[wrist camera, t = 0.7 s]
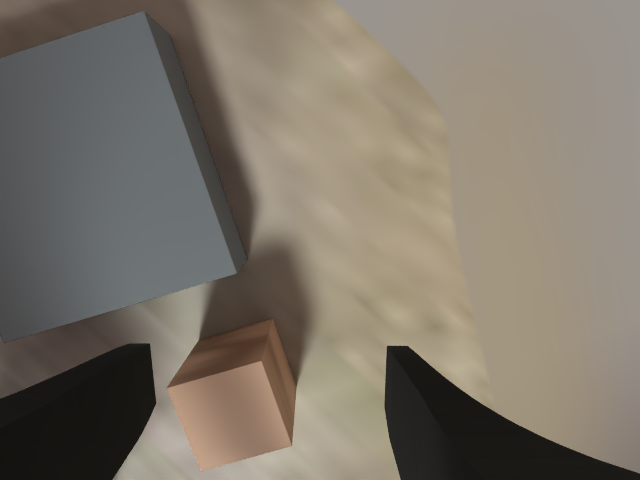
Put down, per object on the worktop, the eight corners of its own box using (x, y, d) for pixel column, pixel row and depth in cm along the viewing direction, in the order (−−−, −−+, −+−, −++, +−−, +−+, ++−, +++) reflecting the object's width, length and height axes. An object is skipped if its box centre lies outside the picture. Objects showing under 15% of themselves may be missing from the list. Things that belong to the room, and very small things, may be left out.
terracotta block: (224, 406, 23) (200, 471, 18) (199, 339, 22) (166, 388, 17) (296, 386, 23) (292, 446, 18) (273, 318, 22) (261, 361, 17)
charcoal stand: (46, 319, 22) (4, 342, 19) (-51, 107, 20) (-117, 96, 17) (247, 258, 21) (236, 273, 18) (170, 35, 19) (143, 10, 16)
